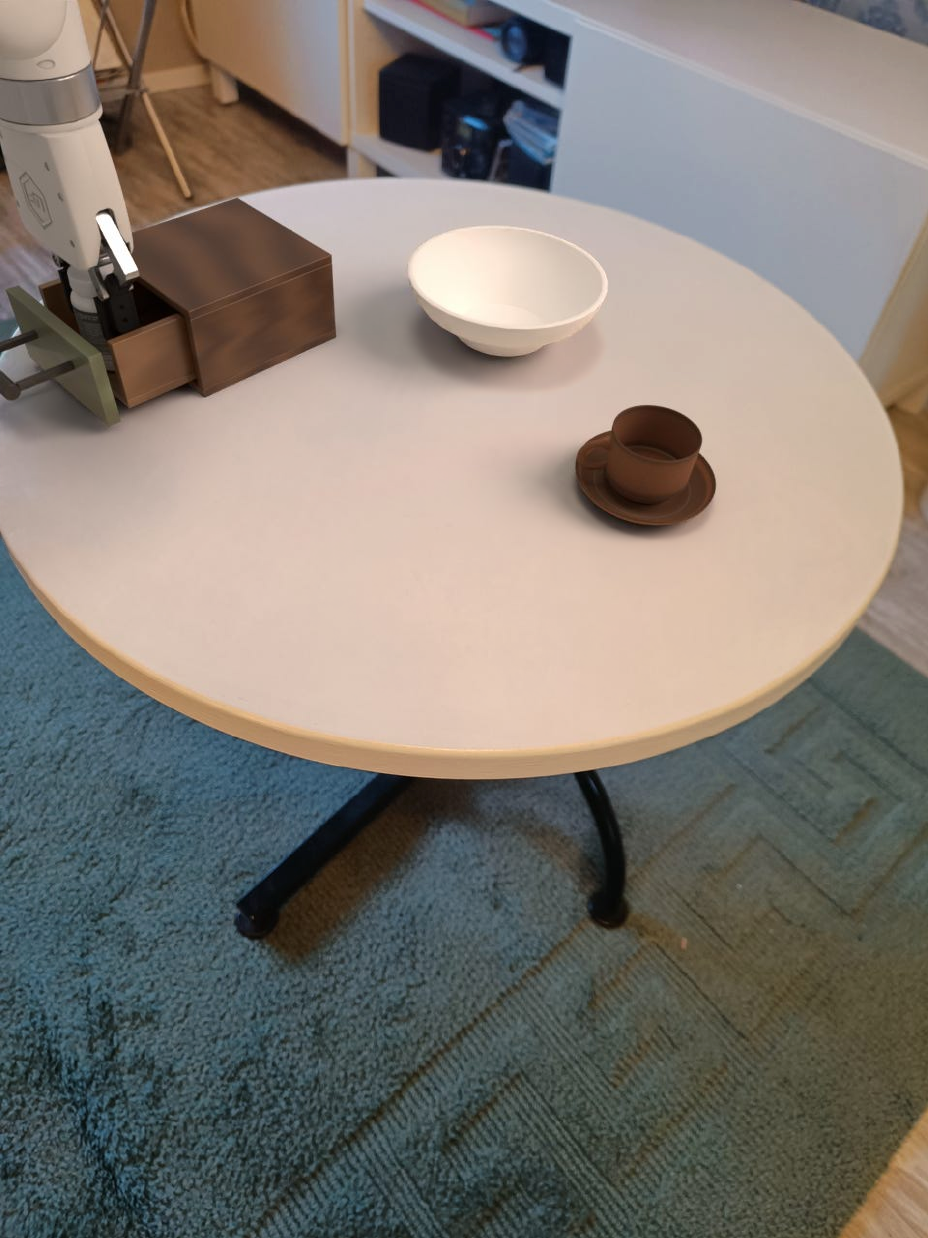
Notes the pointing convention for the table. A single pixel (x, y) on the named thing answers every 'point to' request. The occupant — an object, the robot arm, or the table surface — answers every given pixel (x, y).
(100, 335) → the pill bottle
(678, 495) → the cup and saucer
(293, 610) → the table surface
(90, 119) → the robot arm
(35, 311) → the drawer
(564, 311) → the bowl
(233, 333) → the cabinet
